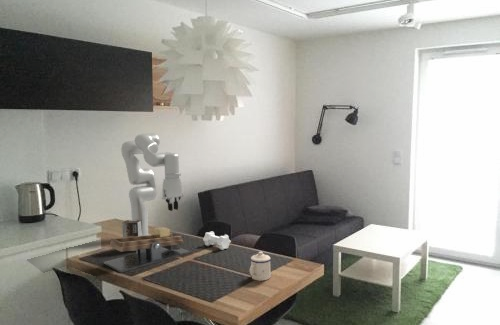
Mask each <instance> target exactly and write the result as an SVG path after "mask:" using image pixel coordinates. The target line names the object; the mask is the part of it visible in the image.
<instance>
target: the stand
mask: <svg viewBox="0 0 500 325" xmlns="http://www.w3.org/2000/svg"><path fill="white" fill-rule="evenodd" d="M150 245H151V248H147V249H139V250H136V251H135V252H136V253H134V254H129V255H126V256H121V257H117V258H113V259H110V260H105V261H103V264H104V265H106V266H107V267H109V268H112V269H113V270H115V271H117V272H118V273H120V274H121V273H125V272H127V271H128V272H129V271H131V270H132V271H133V270H136V269H139V268H143V267H145V266H150V265H153V264H156V263H159V262H160V263H161V262H164V261H167V260H171V259H174V258H177V257H181V256H185V255H188V254H189V255H190V254H191V251H190V250H188V249H185V248H182V247H181V248H180V249H178V250H168V249H166V248H163V247H161V242H160V241H157V242H153V243H150Z"/></svg>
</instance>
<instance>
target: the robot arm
mask: <svg viewBox="0 0 500 325" xmlns="http://www.w3.org/2000/svg"><path fill="white" fill-rule="evenodd" d="M160 141H161V140H160V137H159V135H157V134H156V133H140V134H138V135H136V136H135V138H134V140H127V141H125V142H123V143H122V144H121V148H120V150H121V151H120V152H121V156H122V159H123V160H124V164H125V167H126V168H125V169H126V172H127V178H128V181H129V183H130V185H132V186H135V187H132V188H131V189H129V191H128V199H129V203H130V210H131V212H130V214H131V220H142V236H146V235H152V234H151V233H149V223H148V222H149V221H148V219H149V217H148V207H147V205H146V204H145V203H144V202H150V201H154V200H157V198H158V197H159V196H158V193H159V191H158V186H157V182H156V177H155V176H156V175H155V173H154V172H153V170H152V169H151V168H142V166H141V162H140V159H138V157H137V156H136V155H143V159H144V161H145V163H146V164H148V165H149V166H150V167H153V168H157V167H160V168H161V167H164V179H163V182H162V191H161V192H162V194H161V195H162V197H161V199H162V201H165V203H167V210H168V211H170V212H172V211H173V210H176V211H178V210H179V202H180V200H181V199H182V198H183V197H184V194H183V186H182V182H181V178H180V176H181V175H182V174H181V173H180V166H179V165H180V162H179V157H180V156H179V154H177V153H172V152H170V151H169V152H168V151H167V152H166V151H165V152H158V151H159V147H160V146H159V145H160ZM138 185H141V186H138ZM172 198H173V199H172ZM172 200H174V201H172ZM172 202H173V203H172Z"/></svg>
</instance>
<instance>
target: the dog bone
mask: <svg viewBox="0 0 500 325" xmlns="http://www.w3.org/2000/svg"><path fill="white" fill-rule="evenodd" d="M204 234H205V235H204V237H203V238H202V241H203V242H204V246H206V247H210V246H213V245H215V246H218V249H219V250H220V251H224V250H225V249H226V250H228V249H229V246H230V245H231V244H230V243H231V242H232V241H231V240H230V238H229V237H230V236H229V235H228V234H224V235H219V236H218V235H215V232H214V231H213V230H212V231H209V232H205V233H204Z"/></svg>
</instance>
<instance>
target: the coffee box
mask: <svg viewBox="0 0 500 325" xmlns="http://www.w3.org/2000/svg"><path fill="white" fill-rule="evenodd" d="M121 226H122V227H121V228H122V238H126V237H136V236H142V220H132V219H125V220H124V221H123V222H122V224H121ZM130 252H136V250H131V251H130Z"/></svg>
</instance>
